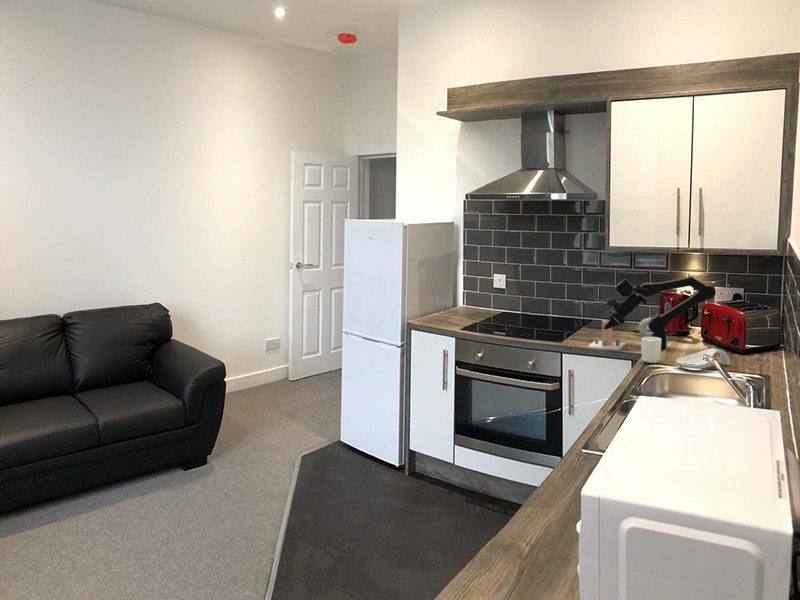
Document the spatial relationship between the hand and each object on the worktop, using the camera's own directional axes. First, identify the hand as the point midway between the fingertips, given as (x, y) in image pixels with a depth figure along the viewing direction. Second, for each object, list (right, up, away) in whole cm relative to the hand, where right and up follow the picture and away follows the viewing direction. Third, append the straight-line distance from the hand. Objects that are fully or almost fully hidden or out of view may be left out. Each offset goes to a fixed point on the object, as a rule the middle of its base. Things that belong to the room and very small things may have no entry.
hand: (604, 327), depth 290 cm
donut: (+28, -6, +16) cm, 33 cm away
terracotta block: (+2, -8, +1) cm, 8 cm away
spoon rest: (+26, -15, -43) cm, 52 cm away
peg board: (+2, -9, +1) cm, 9 cm away
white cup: (+9, -13, -32) cm, 35 cm away
